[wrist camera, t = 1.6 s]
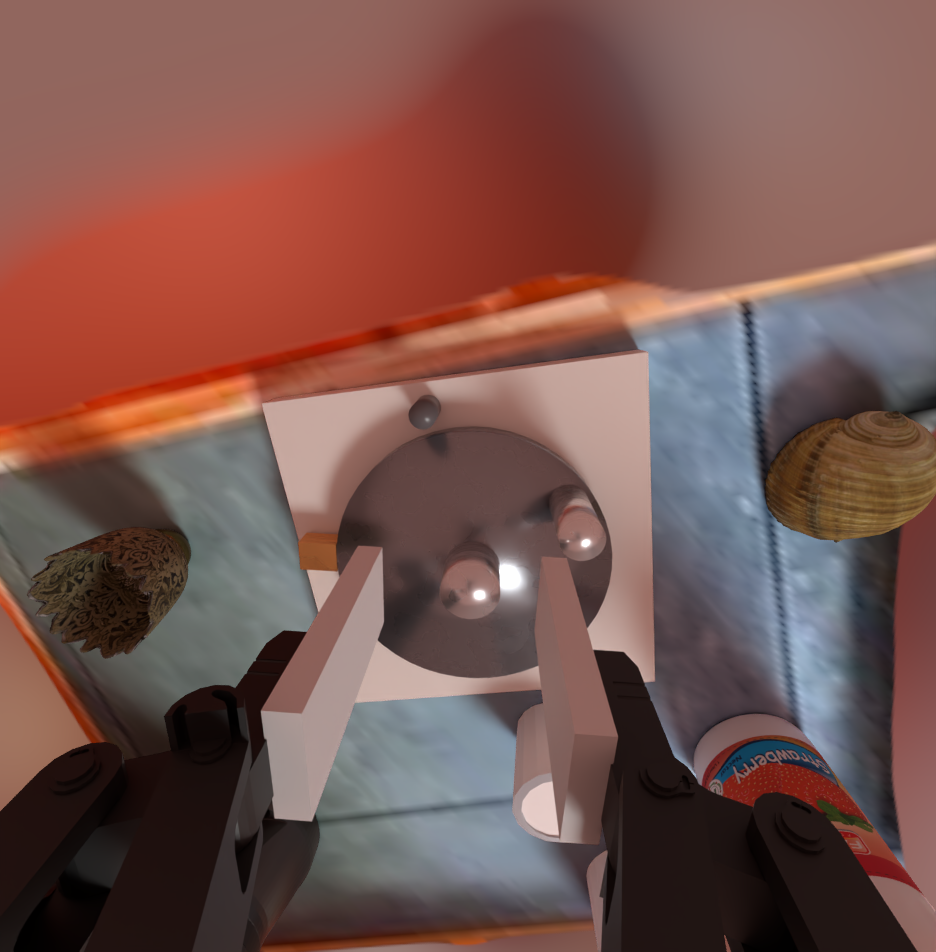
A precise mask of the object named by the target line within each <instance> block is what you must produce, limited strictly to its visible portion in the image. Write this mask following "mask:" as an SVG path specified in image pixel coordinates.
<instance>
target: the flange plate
mask: <svg viewBox="0 0 936 952" xmlns="http://www.w3.org/2000/svg"><path fill="white" fill-rule="evenodd" d="M298 546H299V557H300V569H303V570H320V571H336V572H337V571H338V572H339V577H340V576H341V574H342V572H343V570H344V569H345V567H346V565H347V564H348V562H349V560H350V559H351V557H352V555H353V554H354V552H355V550H356V548H357V547H358V546H372V547H382V555H383V600H384V623H383V626H382V629H381V632H380V634H379V637H378V641H379V642H380V643H381V644H382V645H383V646H385V647H386V648H388V649H389V650H390V651H392V652H393V653H394V654H396V655H398V656H399V657H401V658H403V659H405V660H406V661H408V662H410V663H412V664H415V665H417V666H419V667H422V668H424V669H427V670H430V671H433V672H437V673H440V674H445V675H450V676H455V677H465V678H492V677H500V676H507V675H511V674H515V673H519V672H523V671H525V670H528V669H531V668H534V667H536V666H539V665H538V657H537V649H536V641H535V632H534V631H535V621H536V611H537V600H538V590H539V580H540V569H541V559H542V557H558V558H567V561H568V564H569V568H570V571H571V575H572V578H573V582H574V585H575V589H576V592H577V596H578V599H579V603H580V606H581V610H582V613H583V617H584V620H585V623H586V627H587V628H588V627H589V625H590V624H591V623H592V621H593V620H594V618H595V617H596V615H597V613H598V611H599V609H600V607H601V605H602V603H603V601H604V599H605V596H606V593H607V590H608V587H609V583H610V577H611V571H612V547H611V539H610V534H609V530H608V527H607V523H606V520H605V518H604V515H603V513H602V511H601V509H600V506H599V504H598V502H597V500H596V499H595V497H594V495H593V493H592V492H591V490H590V489H589V487H588V486H587V484H586V482H585V481H584V480H583V478H582V477H581V476H580V475H579V474H578V473H577V471H576V470H575V469H574V468H573V467H572V466H571V465H570V464H569V463H567V462H566V461H565V460H564V459H563V458H562V457H561V456H559V455H558V454H556V453H555V452H553V451H552V450H550V449H549V448H547V447H546V446H544V445H542V444H540V443H538V442H536V441H534V440H532V439H530V438H528V437H525V436H522V435H519V434H516V433H513V432H510V431H506V430H501V429H496V428H489V427H475V426H471V427H454V428H449V429H444V430H438V431H434V432H431V433H428V434H425V435H422V436H419V437H417V438H415V439H413V440H411V441H409V442H407V443H405V444H402V445H401V446H399V447H398V448H396V449H395V450H393V451H392V452H390V453H389V454H388V455H386V456H385V457H384V458H383V459H382V460H381V461H380V462H379V463H377V464H376V465H375V466H374V467H373V469H372V470H371V471H370V472H369V473H368V475H367V476H366V477H365V478H364V479H363V481H362V482H361V483H360V484H359V486H358V487H357V489H356V490H355V492H354V494H353V495H352V497H351V498H350V500H349V502H348V504H347V507H346V509H345V511H344V514H343V516H342V520H341V523H340V527H339V531H338V534H322V533H306V534H305V535H304V536H303V537H302V539H301V540H300V541H299V542H298Z"/></svg>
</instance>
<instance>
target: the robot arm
mask: <svg viewBox="0 0 936 952" xmlns="http://www.w3.org/2000/svg"><path fill="white" fill-rule="evenodd" d="M383 623H384V600H383V555H382V547H372V546H358V547H357V548H356V550H355V552H354V554H353V555H352V557H351V559H350V560H349V562H348V564H347V565H346V567H345V569H344V570H343V572H342V574H341V576H340V577H339V579H338V581H337V582H336V584H335V586H334V587H333V589H332V591H331V593H330V594H329V596H328V598H327V599H326V601H325V603H324V604H323V606H322V608H321V609H320V611H319V613H318V615H317V616H316V618H315V620H314V621H313V623H312V625H311V626H310V628H309V630H308V632H299V631H282V632H281V633H280V634H278V635H277V636H276V637H274V638H273V639H272V640H270V641H269V642H267V643H266V645H265V646H264V648H263V649H262V651H261V652H260V653H259V655H258V656H257V658H256V661H254V662H253V664H252V665H251V666H250V668H249V669H248V671H247V674H245V675H244V677H243V678H242V679H241V681H240V682H239V684H238V685H237V687H236V688H234V687H231V686H229V685H213V686H209V687H204V688H200V689H198V690H196V691H194V692H191V693H189V694H187V695H185V696H184V697H182V698H181V699H180V700H179V701H177V702H176V703H175V704H173V705H172V706H171V708H170V709H169V710H168V712H167V713H166V714H165V716H164V718H165V723H166V728H167V732H168V737H169V742H170V747H171V750H170V751H166V752H163V753H159V754H154V755H149V756H144V757H139V758H134V759H129V760H124V757H123V753H122V752H121V750H120V749H119V748H118V747H117V745H114V744H110V743H107V742H101V743H90V744H87V745H84V746H81V747H78V748H75V749H72V750H70V751H69V752H67V753H65V754H63V755H61V756H59V757H58V758H56V759H54V760H53V761H52V762H51V763H49V764H48V765H47V766H46V767H44V768H43V769H42V770H41V771H40V772H39V773H38V774H37V775H36V776H35V777H34V778H33V779H32V780H31V781H30V782H29V783H28V784H27V785H26V786H25V787H24V788H23V789H22V790H21V791H20V792H19V793H18V794H17V795H16V796H15V797H14V798H13V799H12V800H11V801H10V802H9V803H8V804H7V805H6V806H5V807H4V808H3V809H2V810H1V811H0V952H259V951H260V948H261V946H262V943H263V941H264V940H265V938H266V936H267V935H268V933H269V932H270V930H271V929H272V927H273V926H274V925H275V923H276V922H277V920H278V919H279V917H280V916H281V914H282V913H283V911H284V910H285V908H286V907H287V905H288V904H289V902H290V900H291V899H292V897H293V896H294V894H295V893H296V891H297V889H298V888H299V887H300V886H301V884H302V883H303V881H304V880H305V878H306V876H307V874H308V872H309V870H310V868H311V865H312V862H313V859H314V856H315V853H316V850H317V847H318V843H319V836H320V833H319V825H318V822H317V819H316V816H315V812H316V809H317V806H318V803H319V801H320V798H321V795H322V792H323V789H324V787H325V784H326V781H327V778H328V776H329V773H330V770H331V767H332V765H333V762H334V759H335V756H336V753H337V751H338V748H339V745H340V742H341V740H342V737H343V734H344V731H345V729H346V726H347V723H348V720H349V717H350V715H351V712H352V709H353V706H354V704H355V701H356V698H357V695H358V693H359V690H360V687H361V684H362V681H363V679H364V676H365V673H366V670H367V668H368V665H369V662H370V659H371V657H372V654H373V651H374V648H375V645H376V643H377V640H378V637H379V634H380V632H381V629H382V626H383ZM534 632H535V641H536V649H537V657H538V665H539V674H540V682H541V690H542V699H543V707H544V715H545V724H546V732H547V740H548V748H549V757H550V765H551V773H552V782H553V790H554V798H555V807H556V815H557V823H558V831H559V840H560V842H567V843H579V844H591V845H599V842H600V836H601V831H602V827H603V832H604V837H605V842H606V846H607V851H608V853H607V858H606V864H605V869H604V874H603V880H602V885H601V890H600V896H599V897H601V898H603V916H602V939H601V952H727V951H726V945H725V938H724V935H725V936H726V938H727V941H728V944H729V947H730V950H731V952H918V951H917V950H916V948H915V947H914V945H913V944H912V942H911V940H910V939H909V937H908V936H907V934H906V933H905V931H904V930H903V928H902V927H901V925H900V924H899V922H898V921H897V919H896V917H895V916H894V914H893V913H892V911H891V910H890V908H889V907H888V905H887V904H886V902H885V901H884V899H883V898H882V896H881V894H880V893H879V891H878V890H877V888H876V887H875V885H874V884H873V882H872V881H871V879H870V878H869V876H868V875H867V873H866V871H865V870H864V868H863V867H862V865H861V864H860V862H859V861H858V859H857V858H856V856H855V855H854V853H853V852H852V850H851V848H850V847H849V845H848V844H847V842H846V841H845V839H844V838H843V836H842V835H841V833H840V832H839V831H838V830H837V828H836V827H835V826H834V825H833V824H832V823H831V821H830V820H829V819H828V818H827V817H826V816H824V815H823V814H822V813H821V812H819V811H818V810H817V809H816V808H814V807H813V806H812V805H810V804H808V803H806V802H804V801H802V800H800V799H798V798H796V797H795V796H792V795H787V794H783V793H779V792H772V793H764V794H762V795H761V796H760V797H759V798H757V799H756V800H755V802H754V805H753V807H752V806H749V805H746V804H744V803H741V802H738V801H735V800H732V799H730V798H727V797H724V796H721V795H719V794H717V793H714V792H712V791H710V790H708V789H706V788H705V787H703V786H701V785H700V784H698V781H697V779H696V777H695V776H694V775H693V774H692V772H691V771H690V770H689V769H688V767H687V766H685V765H684V764H683V763H681V762H680V761H679V760H677V759H676V758H675V757H674V755H673V753H672V750H671V748H670V745H669V743H668V740H667V738H666V735H665V733H664V730H663V728H662V725H661V723H660V720H659V718H658V715H657V713H656V710H655V708H654V705H653V703H652V701H650V696H649V693H648V691H647V688H646V687H645V683H644V681H643V678H642V676H641V673H640V671H639V668H638V666H637V665H636V664H635V663H634V662H633V661H632V660H631V659H630V658H629V657H628V656H627V655H626V654H625V653H624V652H620V651H605V650H593V648H592V644H591V641H590V637H589V634H588V630H587V627H586V623H585V620H584V617H583V613H582V610H581V606H580V603H579V599H578V596H577V592H576V589H575V585H574V582H573V578H572V575H571V571H570V568H569V564H568V561H567V558H558V557H542V559H541V569H540V580H539V590H538V600H537V611H536V621H535V631H534Z"/></svg>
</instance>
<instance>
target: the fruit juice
mask: <svg viewBox="0 0 936 952" xmlns="http://www.w3.org/2000/svg"><path fill="white" fill-rule="evenodd" d="M694 770H695V774H696V778H697V781H698V784H700V785H701V786H703V787H705V788H706V789H708V790H710V791H712V792H714V793H717V794H719V795H721V796H724V797H727V798H730V799H732V800H735V801H738V802H741V803H744V804H746V805H749V806H752V807H753V805H754V802H755V800H756V799H757V798H759V797H760V796H761V795H762V794H764V793H772V792H779V793H783V794H787V795H792V796H795V797H796V798H798V799H800V800H802V801H804V802H806V803H808V804H810V805H812V806H813V807H814V808H816V809H817V810H818V811H819V812H821V813H822V814H823V815H824V816H826V817H827V818H828V819H829V820H830V821H831V823H832V824H833V825H834V826H835V827H836V828H837V830H838V831H839V832H840V833H841V835H842V836H843V838H844V839H845V841H846V842H847V844H848V845H849V847H850V848H851V850H852V852H853V853H854V855H855V856H856V858H857V859H858V861H859V862H860V864H861V865H862V867H863V868H864V870H865V871H866V873H867V875H868V876H869V878H870V879H871V881H872V882H873V884H874V885H875V887H876V888H877V890H878V891H879V893H880V894H881V896H882V898H883V899H884V901H885V902H886V904H887V905H888V907H889V908H890V910H891V911H892V913H893V914H894V916H895V917H896V919H897V921H898V922H899V924H900V925H901V927H902V928H903V930H904V931H905V933H906V934H907V936H908V937H909V939H910V940H911V942H912V944H913V945H914V947H915V948H916V950H917V951H918V952H936V911H935V910H934V908H933V907H932V905H931V904H930V903H929V901H928V900H927V899H926V898H925V896H924V895H923V894H922V892H921V891H920V890H919V888H918V887H917V886H916V884H915V883H914V882H913V880H912V879H911V877H909V875H908V873H907V872H906V871H905V869H904V868H903V867H902V865H901V864H900V862H899V861H898V860H897V858H896V857H895V856H894V854H893V853H892V852H891V850H890V849H889V847H888V846H887V845H886V843H885V842H884V841H883V839H882V838H881V837H880V835H879V834H878V832H877V831H876V830H875V828H874V827H873V826H872V824H871V823H870V821H869V820H868V819H867V817H866V816H865V815H864V813H863V812H862V811H861V809H860V808H859V806H858V805H857V804H856V802H855V801H854V800H853V798H852V797H851V796H850V794H849V793H848V791H847V790H846V789H845V787H844V786H843V785H842V783H841V782H840V781H839V779H838V778H837V776H836V775H835V774H834V772H833V771H832V770H831V768H830V767H829V766H828V764H827V763H826V761H825V760H824V759H823V757H822V756H821V755H820V753H819V752H818V751H817V749H816V748H815V746H814V745H813V744H812V742H811V741H810V740H809V739H808V738H807V737H806V736H805V735H804V734H803V732H802V731H801V730H799V729H798V728H797V727H796V726H794V725H793V724H791V723H790V722H788V721H786V720H784V719H782V718H779V717H776V716H772V715H767V714H746V715H740V716H736V717H733V718H730V719H727V720H725V721H723V722H721V723H719V724H717V725H716V726H714V727H713V728H711V729H710V730H709V731H708V732H707V733H706V734H705V735H704V736H703V737H702V738H701V740H700V741H699V743H698V745H697V747H696V749H695V753H694Z"/></svg>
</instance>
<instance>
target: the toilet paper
mask: <svg viewBox="0 0 936 952" xmlns="http://www.w3.org/2000/svg"><path fill="white" fill-rule="evenodd" d="M607 853H608V851H607V850H606V851H604V852H602V853H601V854H600V855H598V856H597V857H595V858H594V859H593V861H592V862H591V863H590V865H589V866H588V870H587V875H586V878H587V884H588V890H589V896H590V903H591V909H592V915H593V921H594V928H595V934H596V940H597V946H598V952H601V939H602V916H603V898H601V897H599V896H600V890H601V885H602V880H603V874H604V869H605V864H606V858H607Z"/></svg>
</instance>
